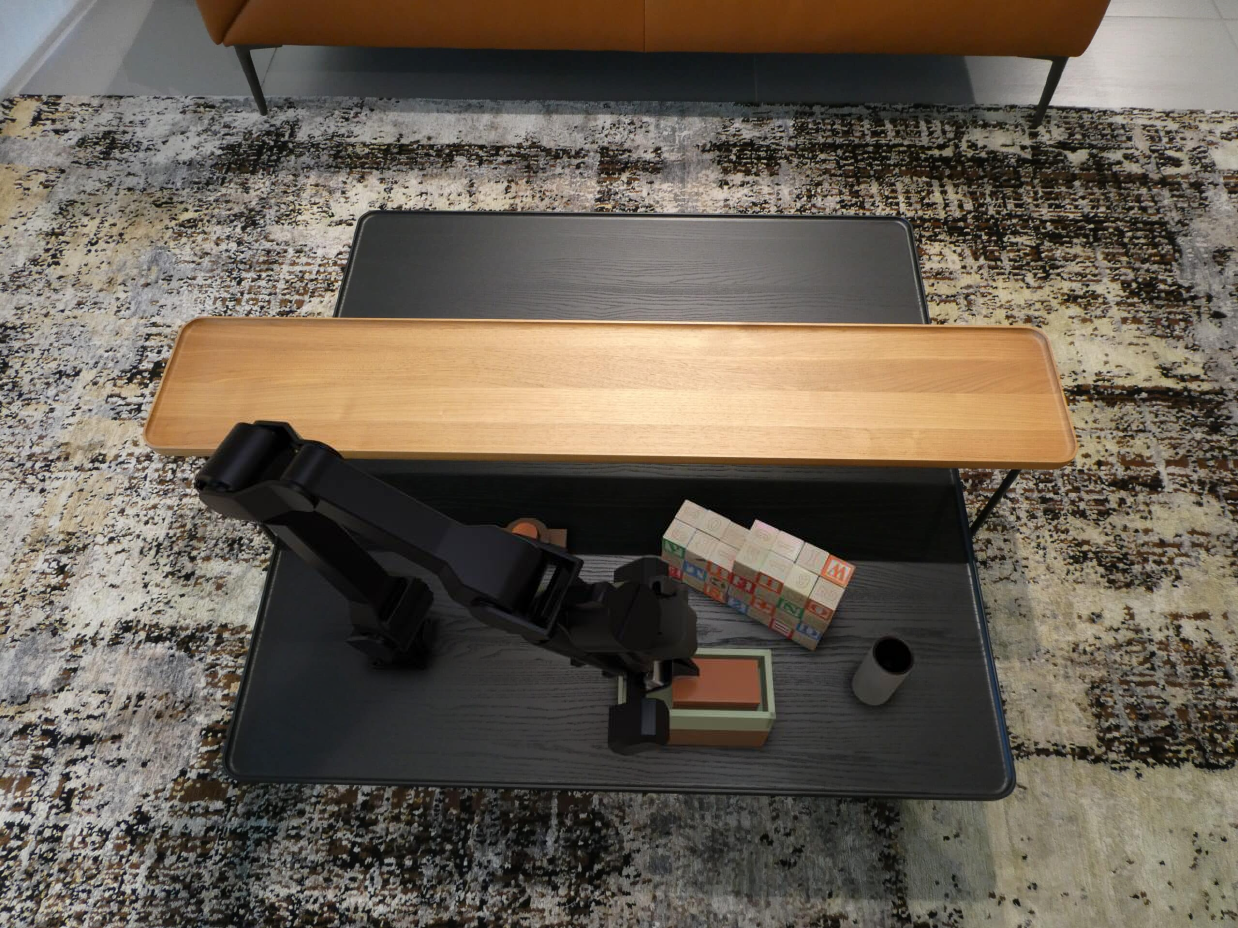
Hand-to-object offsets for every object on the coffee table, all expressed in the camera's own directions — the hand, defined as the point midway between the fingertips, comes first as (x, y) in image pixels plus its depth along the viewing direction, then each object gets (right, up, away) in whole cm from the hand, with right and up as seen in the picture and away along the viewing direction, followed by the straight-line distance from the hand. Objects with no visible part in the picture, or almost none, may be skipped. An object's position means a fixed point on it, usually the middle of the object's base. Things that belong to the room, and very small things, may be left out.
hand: (696, 673), depth 86 cm
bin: (0, -7, +11) cm, 13 cm away
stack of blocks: (+8, +6, +19) cm, 22 cm away
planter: (+22, -5, +12) cm, 25 cm away
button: (-20, +12, +21) cm, 31 cm away
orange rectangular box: (-2, -2, +4) cm, 5 cm away
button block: (-20, +11, +23) cm, 32 cm away
